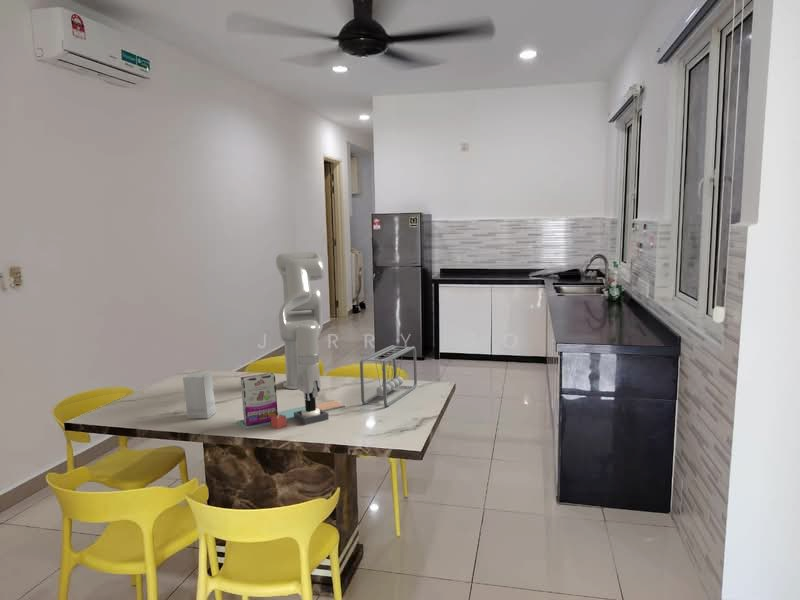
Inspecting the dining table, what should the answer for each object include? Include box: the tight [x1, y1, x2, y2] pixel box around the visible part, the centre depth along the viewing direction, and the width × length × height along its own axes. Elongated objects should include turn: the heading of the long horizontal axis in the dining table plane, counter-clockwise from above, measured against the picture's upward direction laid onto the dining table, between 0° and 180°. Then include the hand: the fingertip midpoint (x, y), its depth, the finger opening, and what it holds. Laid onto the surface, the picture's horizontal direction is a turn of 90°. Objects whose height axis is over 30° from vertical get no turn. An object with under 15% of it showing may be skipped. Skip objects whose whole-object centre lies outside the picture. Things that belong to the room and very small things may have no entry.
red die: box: [270, 414, 287, 430], centre depth 191 cm, size 4×4×4 cm
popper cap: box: [302, 408, 320, 417], centre depth 198 cm, size 6×6×2 cm
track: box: [235, 399, 346, 430], centre depth 204 cm, size 10×38×1 cm, turn 125°
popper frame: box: [294, 407, 329, 426], centre depth 198 cm, size 9×9×2 cm
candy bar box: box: [240, 372, 279, 427], centre depth 196 cm, size 11×5×16 cm, turn 117°
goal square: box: [316, 400, 345, 411], centre depth 211 cm, size 8×12×1 cm, turn 125°
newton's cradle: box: [359, 344, 418, 408], centre depth 222 cm, size 30×10×18 cm, turn 156°
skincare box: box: [182, 372, 217, 419], centre depth 204 cm, size 8×7×16 cm
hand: (310, 410), depth 198 cm, fingers closed
